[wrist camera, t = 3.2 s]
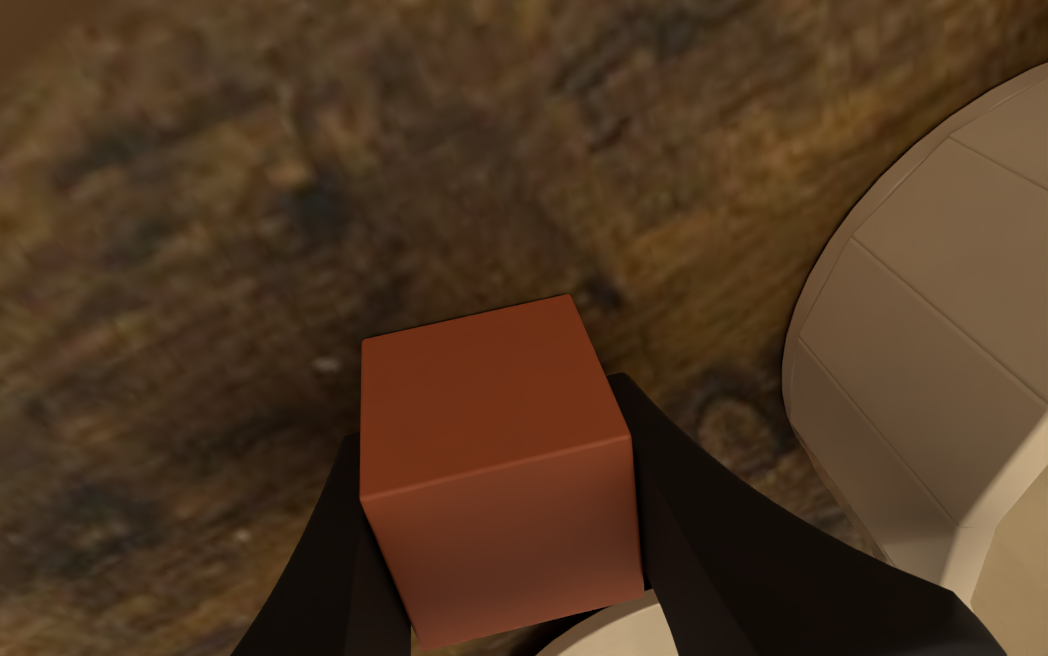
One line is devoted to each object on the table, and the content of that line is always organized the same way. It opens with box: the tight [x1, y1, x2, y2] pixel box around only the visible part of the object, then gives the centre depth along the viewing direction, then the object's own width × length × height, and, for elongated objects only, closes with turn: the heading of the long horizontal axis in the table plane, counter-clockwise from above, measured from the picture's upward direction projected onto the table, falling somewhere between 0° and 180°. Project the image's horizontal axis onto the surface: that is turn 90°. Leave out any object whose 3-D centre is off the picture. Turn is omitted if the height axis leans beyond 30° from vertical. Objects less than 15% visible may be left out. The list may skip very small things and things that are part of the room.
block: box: [360, 294, 644, 651], centre depth 13 cm, size 4×4×4 cm
